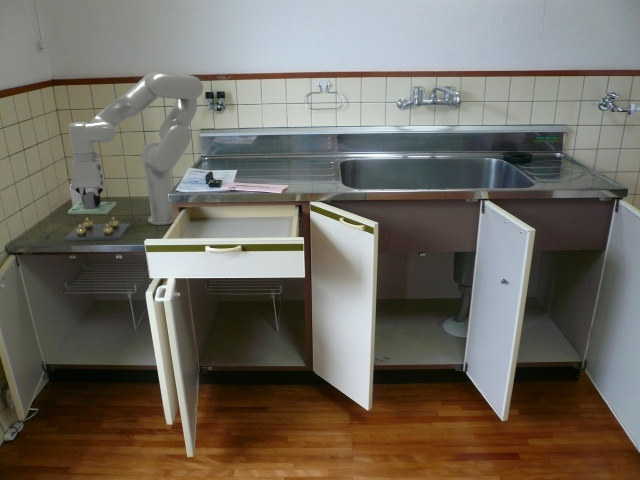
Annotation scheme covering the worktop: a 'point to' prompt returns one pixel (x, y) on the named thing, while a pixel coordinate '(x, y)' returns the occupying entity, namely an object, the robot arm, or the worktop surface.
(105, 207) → the board
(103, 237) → the plate
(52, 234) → the worktop surface
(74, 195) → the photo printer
